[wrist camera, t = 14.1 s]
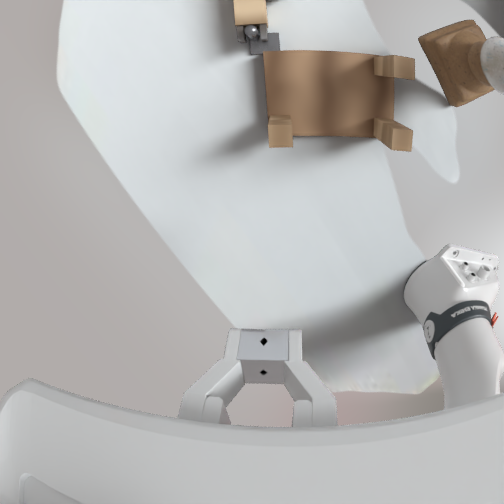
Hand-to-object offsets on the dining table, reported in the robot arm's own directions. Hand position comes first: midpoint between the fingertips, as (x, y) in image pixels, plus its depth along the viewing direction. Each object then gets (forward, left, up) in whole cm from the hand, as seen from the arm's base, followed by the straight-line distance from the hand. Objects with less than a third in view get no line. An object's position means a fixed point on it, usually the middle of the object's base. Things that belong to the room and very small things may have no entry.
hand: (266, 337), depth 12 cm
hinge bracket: (+1, -15, -31) cm, 34 cm away
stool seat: (-7, -7, -31) cm, 33 cm away
